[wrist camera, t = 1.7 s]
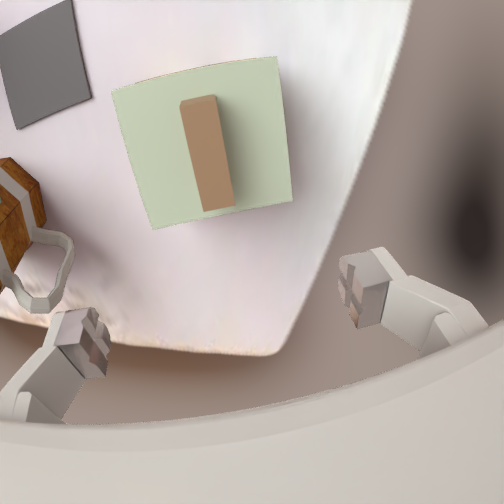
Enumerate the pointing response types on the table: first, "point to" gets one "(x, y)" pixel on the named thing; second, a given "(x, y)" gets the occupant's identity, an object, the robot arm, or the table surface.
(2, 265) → the mug
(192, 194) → the lid
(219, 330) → the table surface
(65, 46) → the mat
